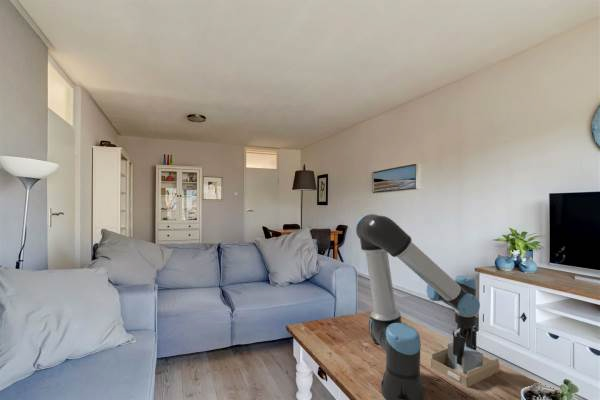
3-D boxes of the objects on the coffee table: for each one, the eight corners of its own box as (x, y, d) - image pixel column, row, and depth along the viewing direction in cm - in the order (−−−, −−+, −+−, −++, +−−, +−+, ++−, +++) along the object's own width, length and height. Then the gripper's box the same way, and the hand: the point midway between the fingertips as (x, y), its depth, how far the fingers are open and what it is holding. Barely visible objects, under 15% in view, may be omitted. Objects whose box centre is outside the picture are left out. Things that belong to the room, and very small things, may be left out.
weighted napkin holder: (475, 379, 119) (475, 356, 119) (447, 365, 129) (447, 344, 129) (482, 376, 121) (482, 353, 121) (454, 362, 132) (455, 341, 132)
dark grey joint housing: (393, 344, 148) (393, 324, 148) (372, 343, 148) (372, 323, 148) (386, 330, 164) (386, 312, 164) (366, 330, 164) (367, 311, 164)
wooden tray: (466, 388, 113) (466, 372, 113) (430, 368, 127) (430, 354, 127) (499, 372, 124) (499, 358, 124) (462, 355, 138) (462, 342, 138)
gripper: (460, 321, 118) (460, 380, 118) (486, 313, 127) (486, 368, 126) (443, 314, 124) (442, 371, 124) (469, 307, 133) (468, 360, 133)
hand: (464, 369), depth 125 cm, fingers closed on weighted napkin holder, 5 cm apart
